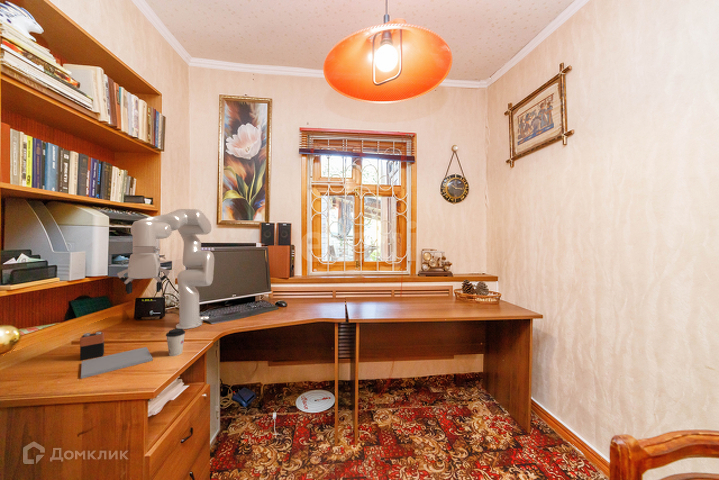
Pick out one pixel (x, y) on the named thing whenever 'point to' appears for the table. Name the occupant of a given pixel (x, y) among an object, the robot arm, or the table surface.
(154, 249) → the robot arm
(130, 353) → the desk mat
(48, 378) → the table surface
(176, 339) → the coffee cup
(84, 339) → the battery
